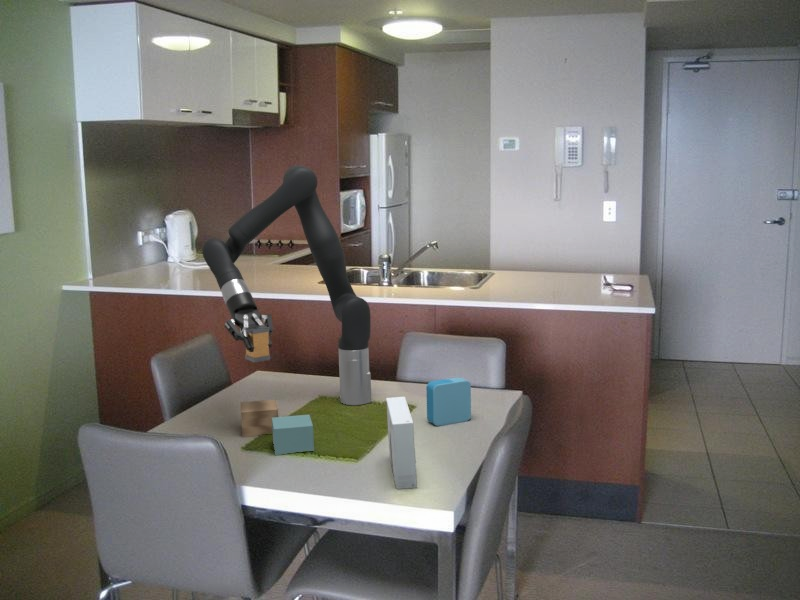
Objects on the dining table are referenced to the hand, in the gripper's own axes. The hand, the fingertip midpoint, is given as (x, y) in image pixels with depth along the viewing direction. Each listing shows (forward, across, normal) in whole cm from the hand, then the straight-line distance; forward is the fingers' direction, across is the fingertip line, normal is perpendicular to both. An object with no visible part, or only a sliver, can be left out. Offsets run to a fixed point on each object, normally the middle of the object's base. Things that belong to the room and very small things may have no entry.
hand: (260, 348), depth 231 cm
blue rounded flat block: (+34, +46, -1) cm, 57 cm away
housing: (+1, 0, +4) cm, 4 cm away
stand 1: (+14, +1, +21) cm, 25 cm away
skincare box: (+50, +12, -16) cm, 54 cm away
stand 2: (+27, +1, +7) cm, 28 cm away
